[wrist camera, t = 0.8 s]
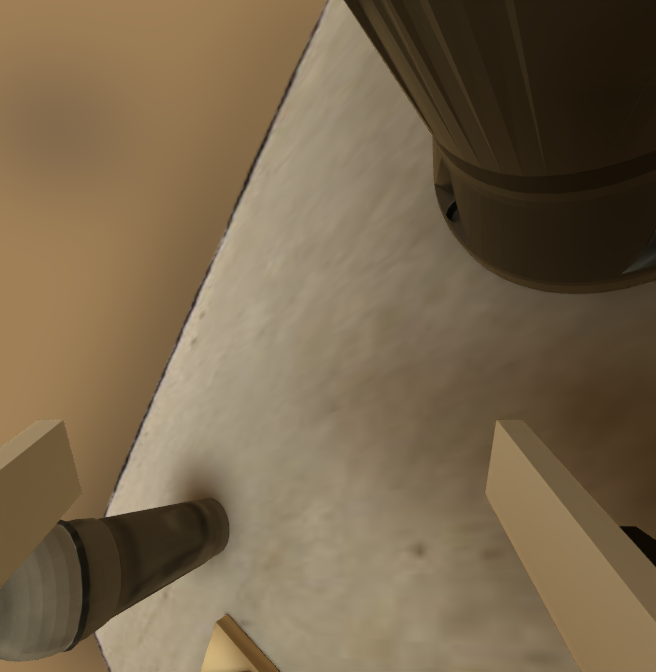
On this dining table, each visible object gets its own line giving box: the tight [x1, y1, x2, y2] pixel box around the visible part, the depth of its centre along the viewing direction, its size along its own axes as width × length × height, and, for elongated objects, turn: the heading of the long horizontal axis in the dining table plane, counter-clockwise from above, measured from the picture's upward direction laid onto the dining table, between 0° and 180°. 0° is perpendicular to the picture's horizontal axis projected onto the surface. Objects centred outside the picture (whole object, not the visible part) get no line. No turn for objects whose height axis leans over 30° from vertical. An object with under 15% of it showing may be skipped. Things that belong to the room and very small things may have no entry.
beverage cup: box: [0, 499, 229, 662], centre depth 25 cm, size 7×7×20 cm
